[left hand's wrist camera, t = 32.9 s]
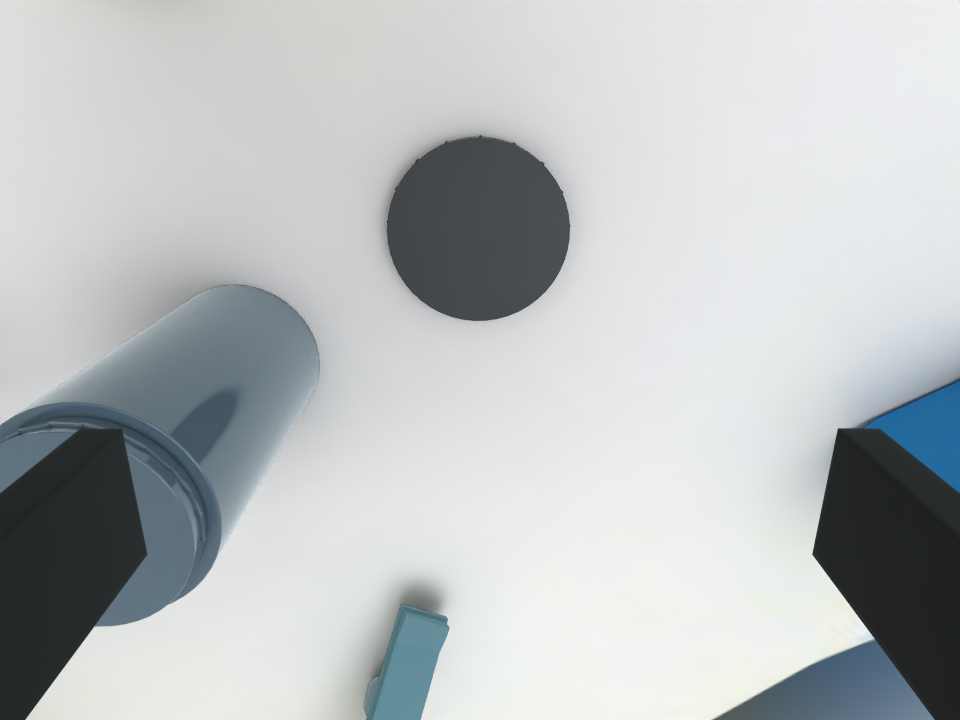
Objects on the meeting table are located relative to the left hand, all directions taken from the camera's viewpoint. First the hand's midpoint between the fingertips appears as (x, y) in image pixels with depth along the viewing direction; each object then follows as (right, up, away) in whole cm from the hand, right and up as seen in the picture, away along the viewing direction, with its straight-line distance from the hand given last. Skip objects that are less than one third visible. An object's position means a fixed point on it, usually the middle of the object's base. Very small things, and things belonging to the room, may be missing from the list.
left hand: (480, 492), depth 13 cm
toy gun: (-6, -21, +40) cm, 46 cm away
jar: (-15, +3, +31) cm, 35 cm away
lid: (0, +10, +27) cm, 29 cm away
